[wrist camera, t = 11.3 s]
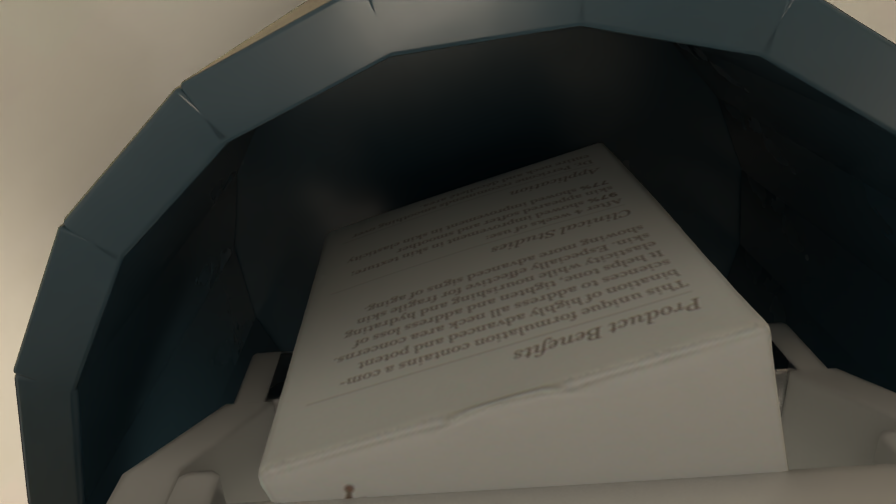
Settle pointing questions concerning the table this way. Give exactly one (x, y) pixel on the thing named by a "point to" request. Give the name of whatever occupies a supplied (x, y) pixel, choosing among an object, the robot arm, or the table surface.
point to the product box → (522, 347)
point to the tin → (453, 188)
